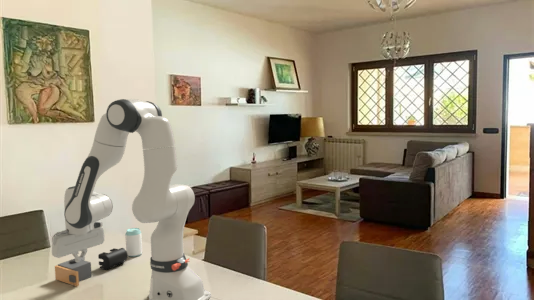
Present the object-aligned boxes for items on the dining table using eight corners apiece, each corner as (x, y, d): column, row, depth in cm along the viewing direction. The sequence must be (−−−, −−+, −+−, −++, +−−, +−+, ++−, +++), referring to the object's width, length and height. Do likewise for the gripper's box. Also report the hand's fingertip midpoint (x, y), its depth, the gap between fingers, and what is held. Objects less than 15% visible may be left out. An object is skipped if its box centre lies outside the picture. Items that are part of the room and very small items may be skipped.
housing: (91, 276, 159) (90, 260, 159) (73, 283, 153) (72, 267, 152) (76, 272, 165) (75, 256, 164) (58, 279, 158) (57, 263, 157)
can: (145, 252, 187) (143, 227, 186) (138, 257, 180) (136, 231, 179) (131, 251, 188) (129, 227, 187) (123, 257, 181) (122, 231, 180)
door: (79, 285, 150) (78, 271, 150) (75, 287, 149) (74, 273, 148) (57, 278, 158) (56, 265, 157) (53, 280, 156) (52, 266, 156)
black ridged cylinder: (109, 271, 165) (108, 255, 164) (98, 268, 168) (97, 253, 167) (128, 263, 173) (127, 248, 173) (116, 261, 177) (116, 246, 176)
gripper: (57, 235, 142) (59, 272, 143) (106, 221, 159) (107, 254, 160) (47, 232, 145) (49, 268, 146) (96, 219, 162) (97, 251, 164)
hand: (80, 261), depth 153 cm, fingers closed
